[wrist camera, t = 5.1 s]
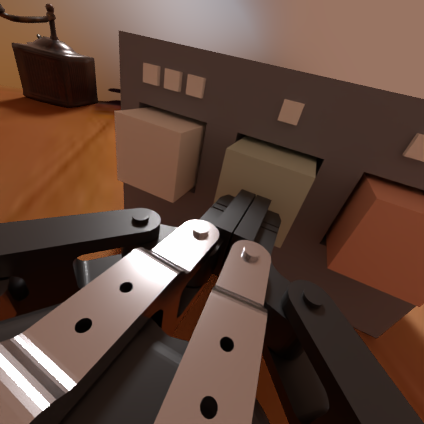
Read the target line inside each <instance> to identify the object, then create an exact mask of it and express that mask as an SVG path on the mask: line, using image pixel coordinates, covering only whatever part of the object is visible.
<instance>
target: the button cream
mask: <svg viewBox="0 0 424 424" xmlns="http://www.w3.org/2000/svg"><path fill="white" fill-rule="evenodd" d="M206 125H207V123H206V122H202V121H199V120H196V119H193V118H190V117H186V116H183V115H180V114H177V113H173V112H170V111H167V110H164V109H161V108H157V107H146V108H137V109H128V110H120V111H115V132H116V154H117V175H118V180H120V181H122V182H124V183H127V184H129V185H131V186H134V187H136V188H139V189H141V190H143V191H146V192H148V193H150V194H153V195H155V196H157V197H160V198H162V199H165V200H167V201H169V202H172V203H174V202H175V201H176V200H178V199H179V198H180V197H182V196H183V195H184V194H185V193H187V192H188V191H189V190H190V189H192V188H193V187H194V186H196V183H197V177H198V171H199V165H200V160H201V154H202V148H203V143H204V137H205V131H206Z"/></svg>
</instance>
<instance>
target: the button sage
mask: <svg viewBox="0 0 424 424" xmlns="http://www.w3.org/2000/svg"><path fill="white" fill-rule="evenodd" d="M316 160H317V157H315V156H312V155H309V154H305V153H302V152H299V151H296V150H292V149H289V148H286V147H283V146H280V145H276V144H273V143H270V142H267V141H264V140H260V139H257V138H254V137H251V136H247V135H246V136H245V137H243V138H242V139H240V140H239V141H237V142H236V143H234V144H232V145H231V146H229V147H228V148H226V152H225V157H224V161H223V165H222V169H221V173H220V178H219V182H218V186H217V190H216V195H215V199H214V203H216V201H217V200H218V199H219V198H220V197H222V196H225V195H228V194H229V195H231V196H234V197H236V196H237V194H238V193H239V192H240V191H241V189H243V190H246V191H249V192H251V193H254V194H256V196H257V195H260V196H262V197H265V198H268V199H270V200H272V201H271V204H270V206H269V208H268V210H270V211H273V212H275V213H278V214H279V216H280V219H281V224H280V227H279V231H278V234H277V237H276V240H275V244H274V246H276V247H278V248H281V246H282V244H283V242H284V240H285V238H286V236H287V234H288V232H289V230H290V228H291V226H292V224H293V222H294V220H295V218H296V216H297V214H298V212H299V210H300V208H301V206H302V204H303V202H304V200H305V198H306V196H307V194H308V192H309V190H310V188H311V186H312V184H313V182H314V180H315V176H316ZM214 203H213V204H214Z"/></svg>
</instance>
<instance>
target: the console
mask: <svg viewBox="0 0 424 424" xmlns="http://www.w3.org/2000/svg"><path fill="white" fill-rule="evenodd" d="M119 54H120V84H121V110H128V109H137V108H146V107H157V108H161V109H164V110H167V111H170V112H173V113H177V114H180V115H183V116H186V117H190V118H193V119H196V120H199V121H202V122H206V123H207V125H206V131H205V137H204V143H203V148H202V154H201V160H200V165H199V171H198V177H197V183H196V186H194V187H193V188H192V189H190V190H189V191H188V192H187V193H185V194H184V195H183V196H182V197H180V198H179V199H178V200H176V201H175V202H174V203H172V202H169V201H167V200H165V199H162V198H160V197H157V196H155V195H153V194H150V193H148V192H146V191H143V190H141V189H139V188H136V187H134V186H131V185H129V184H127V183H124V210H125V209H134V208H146V209H150V210H153V211H155V212H156V213H157V214H158V215H159V216H160V218H161V222H160V224H162V225H167V226H172V227H180V226H182V225H183V224H184V223H186V222H187V221H190V220H199V219H200V218H201V217H202V216H203V215H204V214H205V213H206V212H207V211H208V210H209V209H210V208H211V207H212V205H213V203H214V199H215V195H216V190H217V186H218V182H219V178H220V173H221V169H222V165H223V161H224V157H225V152H226V148H228V147H229V146H231V145H232V144H234V143H236V142H237V141H239V140H240V139H242V138H243V137H245V136H246V135H247V136H251V137H254V138H257V139H260V140H264V141H267V142H270V143H273V144H276V145H280V146H283V147H286V148H289V149H292V150H296V151H299V152H302V153H305V154H309V155H312V156H315V157H317V160H316V176H315V180H314V182H313V184H312V186H311V188H310V190H309V192H308V194H307V196H306V198H305V200H304V202H303V204H302V206H301V208H300V210H299V212H298V214H297V216H296V218H295V220H294V222H293V224H292V226H291V228H290V230H289V232H288V234H287V236H286V238H285V240H284V242H283V244H282V246H281V248H278V247H276V246H274V247H273V250H272V253H271V262H272V264H273V266H274V268H275V269H276V270H277V271H278V272H279V273H280V274H281V275H282V276H283V277H284V278H286V279H287V280H288V281H290V282H291V283H292V282H293V281H295V280H306V281H310V282H312V283H314V284H316V285H318V286H319V287H321V288H322V289H323V290H324V291H325V292H326V293H327V294H328V295H329V296H330V297H331V299H332V300H333V301H334V303H335V304H336V305H337V307H338V308H339V309H340V311H341V312H342V313H343V315H344V316H345V318H346V319H347V320H348V322H349V323H350V324H351V326H352V327H354V328H356V329H358V330H360V331H362V332H364V333H366V334H369V335H371V336H373V337H375V338H378V337H379V336H380V335H382V334H383V333H384V332H385V331H386V330H388V329H389V328H390V327H391V326H392V325H394V324H395V323H396V322H397V321H399V320H400V319H401V318H402V317H403V316H405V315H406V314H407V313H408V312H409V311H411V310H412V309H413V308H414V307H415V306H416V305H413V304H411V303H409V302H406V301H404V300H401V299H399V298H397V297H394V296H392V295H390V294H387V293H385V292H382V291H380V290H378V289H375V288H373V287H371V286H368V285H366V284H364V283H361V282H359V281H356V280H354V279H352V278H349V277H347V276H345V275H342V274H340V273H338V272H335V271H333V270H330V269H328V268H327V245H326V232H327V231H328V229H329V227H330V226H331V224H332V223H333V221H334V219H335V218H336V216H337V215H338V213H339V211H340V210H341V208H342V207H343V205H344V203H345V202H346V200H347V199H348V197H349V195H350V194H351V192H352V191H353V189H354V187H355V186H356V184H357V183H358V181H359V180H360V178H361V176H362V175H363V173H364V172H366V173H370V174H373V175H376V176H379V177H383V178H386V179H389V180H392V181H395V182H399V183H402V184H405V185H408V186H411V187H415V188H418V189H421V190H424V99H421V98H416V97H412V96H407V95H403V94H398V93H394V92H389V91H385V90H381V89H376V88H372V87H367V86H363V85H358V84H354V83H350V82H345V81H340V80H336V79H331V78H327V77H323V76H318V75H314V74H309V73H305V72H300V71H296V70H292V69H287V68H283V67H278V66H274V65H270V64H265V63H261V62H256V61H252V60H247V59H243V58H238V57H234V56H230V55H225V54H221V53H216V52H212V51H207V50H203V49H198V48H194V47H190V46H185V45H181V44H176V43H172V42H167V41H163V40H158V39H154V38H150V37H145V36H141V35H136V34H132V33H127V32H123V31H119Z"/></svg>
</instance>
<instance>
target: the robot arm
mask: <svg viewBox="0 0 424 424" xmlns="http://www.w3.org/2000/svg"><path fill="white" fill-rule="evenodd" d="M271 201H272V200H270V199H268V198H265V197H262V196H260V195H257V196H256V194H254V193H251V192H249V191H246V190H243V189H241V191H240V192H239V193H238V194H237V196H236V197H234V196H231V195H229V194H228V195H225V196H222V197H220V198H219V199H218V200H217V201H216V203H214V204H213V205H212V207H211V208H210V209H209V210H208V211H207V212H206V213H205V214H204V215H203V216H202V217H201V218H200V219H199V220H190V221H187V222H186V223H184V224H183V225H182V226H180V227H172V226H167V225H162V224H160V222H161V218H160V216H159V215H158V214H157V213H156V212H155V211H153V210H150V209H146V208H134V209H125V210H116V211H107V212H98V213H89V214H80V215H71V216H62V217H53V218H44V219H35V220H26V221H17V222H8V223H0V424H270V423H269V420H268V418H267V416H266V414H265V412H264V411H263V409H262V407H261V405H260V404H259V402H258V401H257V399H256V398H255V396H256V390H257V383H258V376H259V369H260V363H261V356H262V354H263V357H264V359H265V362H266V365H267V367H268V370H269V372H270V375H271V378H272V380H273V383H274V385H275V388H276V391H277V393H278V396H279V399H280V401H281V404H282V406H283V409H284V412H285V414H286V417H287V419H288V422H289V424H424V423H423V421H422V420H421V419H420V417H419V416H418V415H417V413H416V412H415V411H414V409H413V408H412V407H411V405H410V404H409V403H408V401H407V400H406V399H405V397H404V396H403V394H402V393H401V392H400V390H399V389H398V388H397V386H396V385H395V384H394V382H393V381H392V380H391V378H390V377H389V376H388V374H387V373H386V372H385V370H384V369H383V367H382V366H381V365H380V363H379V362H378V361H377V359H376V358H375V357H374V355H373V354H372V353H371V351H370V350H369V349H368V347H367V346H366V345H365V343H364V342H363V340H362V339H361V338H360V336H359V335H358V334H357V332H356V331H355V330H354V328H353V327H352V326H351V324H350V323H349V322H348V320H347V319H346V318H345V316H344V315H343V313H342V312H341V311H340V309H339V308H338V307H337V305H336V304H335V303H334V301H333V300H332V299H331V297H330V296H329V295H328V294H327V293H326V292H325V291H324V290H323V289H322V288H321V287H319V286H318V285H316V284H314V283H312V282H310V281H306V280H295V281H293V282H292V283H291V282H290V281H288V280H287V279H286V278H284V277H283V276H282V275H281V274H280V273H279V272H278V271H277V270H276V269H275V268H274V266H273V264H272V262H271V253H272V250H273V247H274V244H275V240H276V237H277V234H278V231H279V227H280V224H281V219H280V216H279V214H278V213H275V212H273V211H270V210H268V208H269V206H270V204H271ZM115 248H121V254H118V255H113V256H108V257H103V258H99V259H94V260H89V261H81V260H79V259H77V257H79V256H81V255H84V254H89V253H94V252H99V251H105V250H110V249H115ZM221 270H222V271H221ZM220 272H221V273H220ZM219 273H220V276H219V278H218V280H217V283H216V285H215V286H214V287H213V289H212V291H211V293H210V295H209V298H208V300H207V302H206V305H205V307H204V309H203V311H202V314H201V316H200V318H199V321H198V323H197V325H196V328H195V330H194V332H193V334H192V337H191V339H190V341H189V342H188V341H185V340H181V339H177V338H173V337H172V336H173V334H174V331H175V329H176V328H177V326H178V324H179V323H180V321H181V320H182V318H183V317H184V316H185V314H186V313H187V311H188V310H189V309H190V307H191V306H192V304H193V303H194V302H195V300H196V299H197V297H198V296H199V295H200V293H201V292H202V290H203V289H204V287H205V285H206V282H207V281H208V279H209V278H210V276H211V274H215V275H217V276H218V275H219Z"/></svg>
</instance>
